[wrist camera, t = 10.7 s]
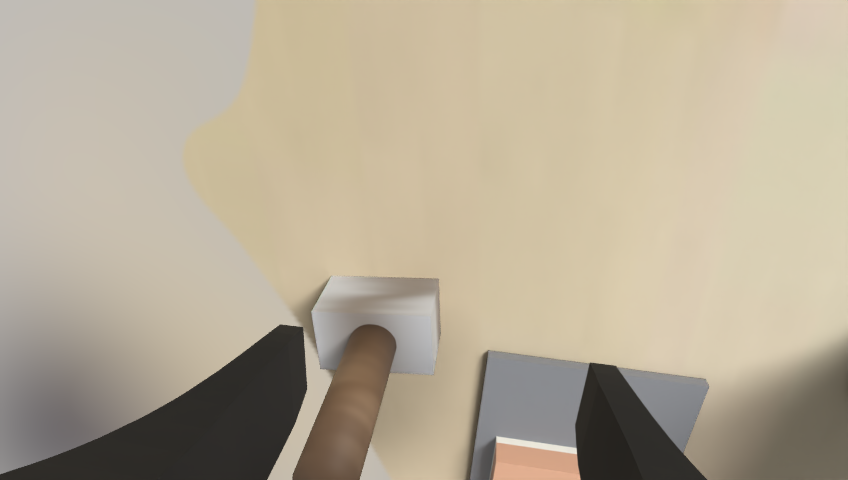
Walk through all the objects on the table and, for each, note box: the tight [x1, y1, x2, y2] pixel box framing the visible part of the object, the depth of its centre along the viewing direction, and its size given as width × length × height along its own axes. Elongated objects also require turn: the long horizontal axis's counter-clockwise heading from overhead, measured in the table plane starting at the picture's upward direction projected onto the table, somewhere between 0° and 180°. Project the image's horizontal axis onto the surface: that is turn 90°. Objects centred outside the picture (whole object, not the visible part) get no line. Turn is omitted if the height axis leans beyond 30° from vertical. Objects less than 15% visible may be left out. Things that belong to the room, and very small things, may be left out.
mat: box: [469, 350, 709, 480], centre depth 28 cm, size 10×15×1 cm, turn 176°
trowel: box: [293, 276, 441, 480], centre depth 21 cm, size 5×3×10 cm, turn 92°
